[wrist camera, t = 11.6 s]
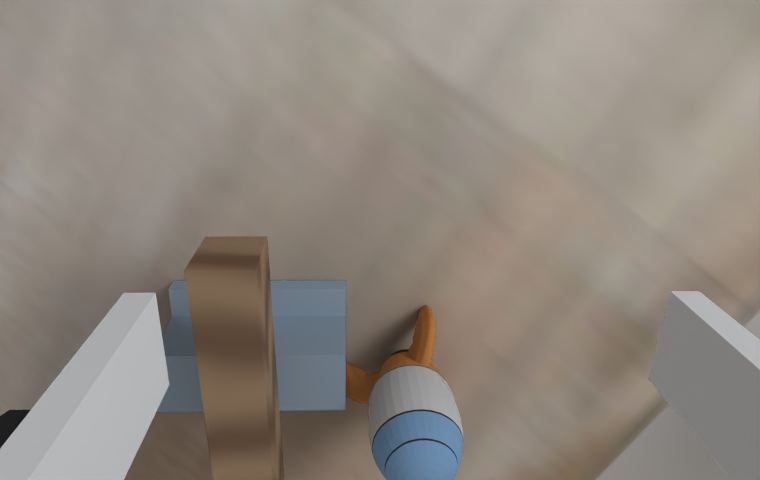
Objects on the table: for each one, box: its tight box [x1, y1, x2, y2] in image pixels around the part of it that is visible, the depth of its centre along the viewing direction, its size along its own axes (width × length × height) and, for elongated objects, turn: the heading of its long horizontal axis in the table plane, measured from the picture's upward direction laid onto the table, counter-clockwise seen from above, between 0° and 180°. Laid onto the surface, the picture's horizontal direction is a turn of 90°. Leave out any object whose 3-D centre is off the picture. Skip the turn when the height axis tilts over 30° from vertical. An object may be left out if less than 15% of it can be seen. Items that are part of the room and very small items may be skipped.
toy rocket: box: [346, 305, 463, 480], centre depth 43 cm, size 10×11×15 cm
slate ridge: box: [158, 280, 346, 413], centre depth 44 cm, size 10×14×7 cm
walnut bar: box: [184, 237, 284, 480], centre depth 38 cm, size 24×4×5 cm, turn 179°
